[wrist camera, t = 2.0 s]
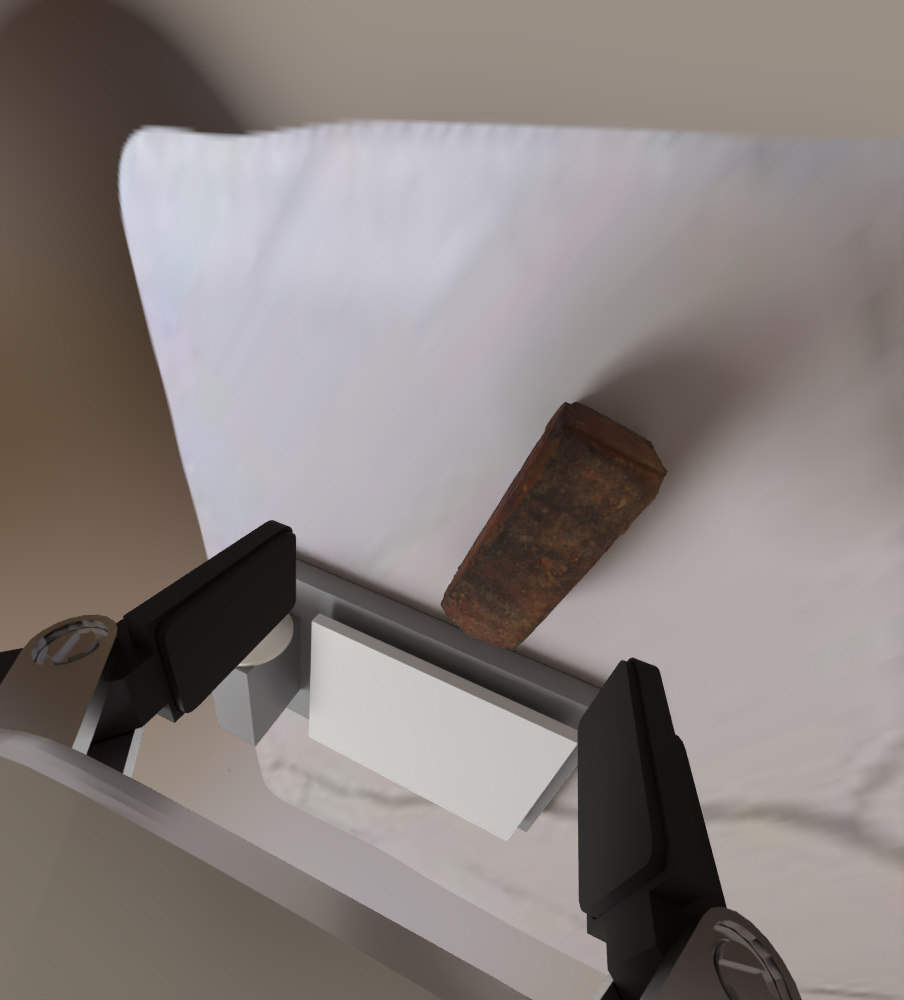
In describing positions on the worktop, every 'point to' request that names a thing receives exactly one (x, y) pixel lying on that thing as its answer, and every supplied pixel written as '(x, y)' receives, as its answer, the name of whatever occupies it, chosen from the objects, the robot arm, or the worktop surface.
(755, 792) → the worktop surface
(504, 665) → the scale
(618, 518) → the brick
